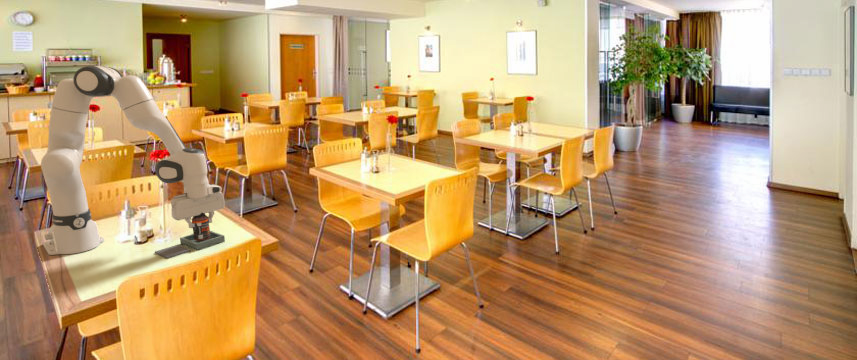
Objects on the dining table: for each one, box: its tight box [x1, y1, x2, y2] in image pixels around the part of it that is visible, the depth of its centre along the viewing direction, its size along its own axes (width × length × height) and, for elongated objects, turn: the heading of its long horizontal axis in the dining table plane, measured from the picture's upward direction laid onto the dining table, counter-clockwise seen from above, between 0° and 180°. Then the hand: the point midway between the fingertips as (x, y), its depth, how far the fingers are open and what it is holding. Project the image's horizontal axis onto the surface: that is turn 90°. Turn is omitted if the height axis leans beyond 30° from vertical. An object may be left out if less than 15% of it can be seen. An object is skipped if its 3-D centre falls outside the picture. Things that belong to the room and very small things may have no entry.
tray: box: [179, 230, 226, 251], centre depth 206 cm, size 12×12×2 cm
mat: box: [154, 244, 192, 260], centre depth 196 cm, size 9×9×1 cm
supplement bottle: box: [191, 213, 211, 241], centre depth 204 cm, size 6×6×11 cm
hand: (200, 225), depth 204 cm, fingers closed on supplement bottle, 6 cm apart
